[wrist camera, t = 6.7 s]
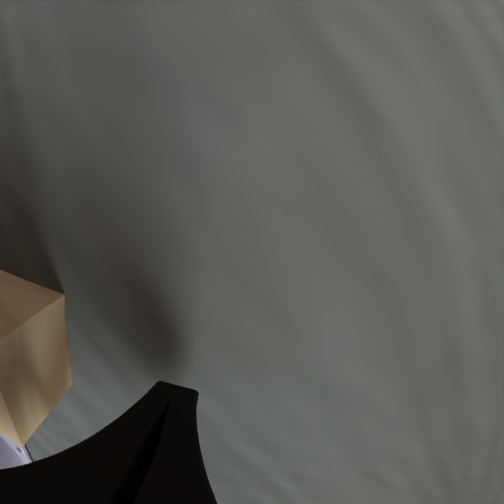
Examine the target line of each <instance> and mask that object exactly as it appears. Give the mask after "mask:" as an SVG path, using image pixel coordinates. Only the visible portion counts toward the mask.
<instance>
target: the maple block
mask: <svg viewBox="0 0 504 504" xmlns="http://www.w3.org/2000/svg"><path fill="white" fill-rule="evenodd" d="M71 385H72V378H71V370H70V362H69V353H68V342H67V329H66V312H65V294H63V293H60V292H57V291H54V290H51V289H49V288H46V287H43V286H40V285H38V284H35V283H33V282H30V281H27V280H25V279H22V278H20V277H17V276H15V275H12V274H10V273H7V272H5V271H3V270H0V433H2V434H3V435H5V436H6V437H8V438H9V439H11V440H12V441H14V442H15V443H17V444H19V445H20V446H22V447H23V446H24V445H25V443H26V442H27V441H28V440H29V438H30V437H31V436H32V434H33V433H34V432H35V430H36V429H37V428H38V426H39V425H40V424H41V423H42V421H43V420H44V419H45V418H46V416H47V415H48V414H49V412H50V411H51V410H52V409H53V407H54V406H55V405H56V404H57V402H58V401H59V400H60V399H61V397H62V396H63V395H64V394H65V392H66V391H67V390H68V389H69V388H70V386H71Z"/></svg>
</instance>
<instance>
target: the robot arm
mask: <svg viewBox="0 0 504 504" xmlns="http://www.w3.org/2000/svg"><path fill="white" fill-rule="evenodd" d="M198 395H199V393H198V392H197V391H196V390H193V389H189V388H185V387H181V386H178V385H174V384H170V383H166V382H163V381H159V382H157V383H156V384H155V385H154V386H153V387H152V388H151V389H150V390H149V391H148V392H147V393H146V394H145V395H144V396H143V397H142V398H141V399H140V400H139V401H138V402H136V403H135V404H134V405H133V406H132V407H131V408H129V409H128V410H127V411H126V412H125V413H123V414H122V415H121V416H120V417H118V418H117V419H116V420H114V421H113V422H112V423H110V424H109V425H107V426H106V427H105V428H103V429H102V430H100V431H99V432H97V433H96V434H94V435H92V436H91V437H89V438H87V439H86V440H84V441H82V442H80V443H78V444H76V445H74V446H72V447H70V448H68V449H66V450H64V451H62V452H59V453H57V454H55V455H52V456H50V457H47V458H44V459H41V460H37V461H34V462H32V461H31V459H30V456H29V454H28V452H27V450H26V448H25V446H23V447H22V446H20V445H19V444H17V443H15V442H14V441H12V440H11V439H9V438H8V437H6V436H5V435H3V434H2V433H0V504H217V502H216V499H215V497H214V494H213V491H212V489H211V486H210V483H209V480H208V477H207V474H206V470H205V467H204V463H203V459H202V455H201V450H200V445H199V438H198V431H197V419H196V407H197V401H198Z"/></svg>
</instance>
